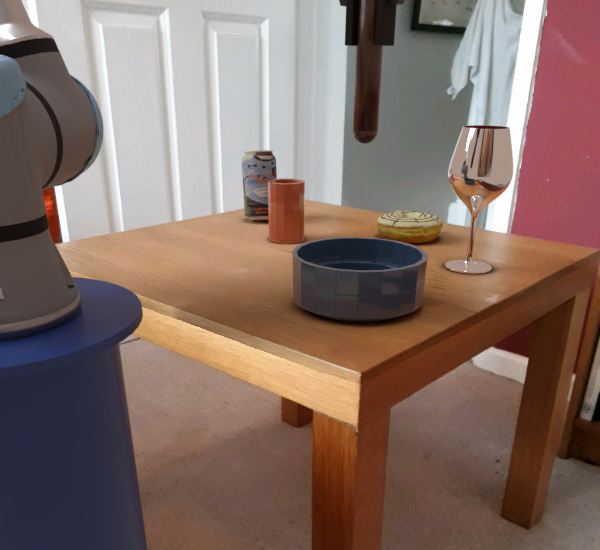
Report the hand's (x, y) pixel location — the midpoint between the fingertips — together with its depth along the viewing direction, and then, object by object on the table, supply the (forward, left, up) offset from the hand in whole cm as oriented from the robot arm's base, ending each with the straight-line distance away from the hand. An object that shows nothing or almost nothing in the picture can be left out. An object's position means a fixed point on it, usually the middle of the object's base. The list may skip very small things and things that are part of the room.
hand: (369, 44), depth 62 cm
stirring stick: (0, 0, -9) cm, 9 cm away
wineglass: (+6, +22, -27) cm, 35 cm away
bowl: (0, 0, -27) cm, 27 cm away
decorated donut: (-8, +34, -27) cm, 44 cm away
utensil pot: (-24, +22, -27) cm, 42 cm away
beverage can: (-36, +32, -27) cm, 55 cm away
